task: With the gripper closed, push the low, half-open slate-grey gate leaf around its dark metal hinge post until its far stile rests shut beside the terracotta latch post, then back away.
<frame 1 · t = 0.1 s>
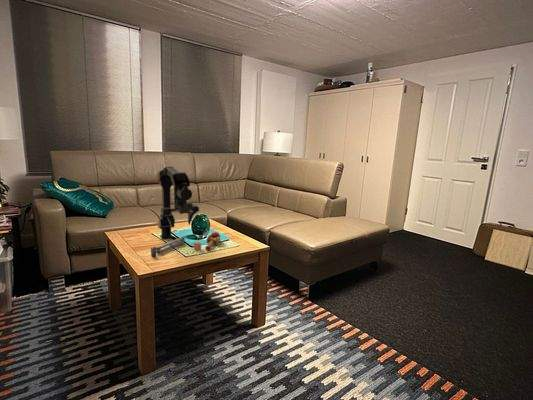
hand: (180, 225, 153), 15 cm above the table, tool pointing down, fingers open, 9 cm apart
latch post: (197, 249, 159), on the table
hinge post: (153, 255, 149), on the table
kendama: (212, 246, 166), on the table
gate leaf: (171, 244, 159), point 2 cm above the table, hinge at 30.0°
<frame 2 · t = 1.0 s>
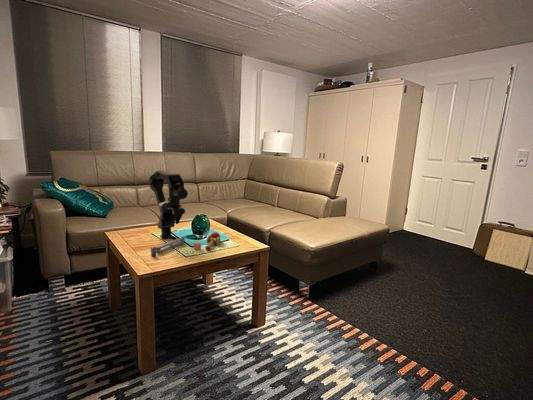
hand: (175, 222, 167), 12 cm above the table, tool pointing down, fingers open, 7 cm apart
nothing on the table moved.
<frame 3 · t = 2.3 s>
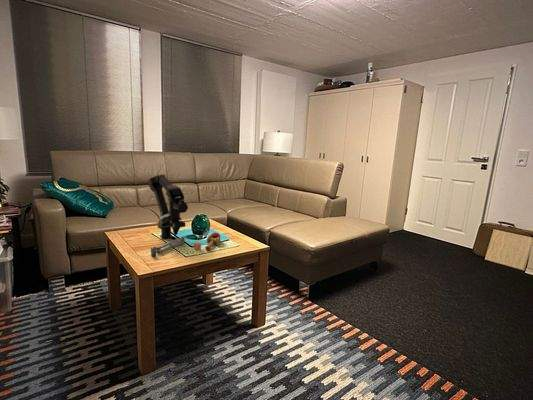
hand: (175, 235, 169), 4 cm above the table, tool pointing down, fingers closed
nothing on the table moved.
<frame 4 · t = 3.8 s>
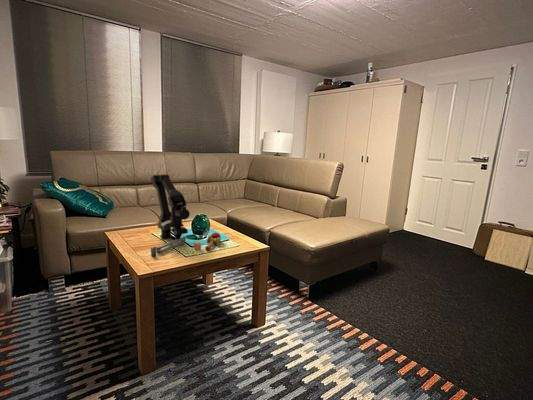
hand: (177, 241, 167), 1 cm above the table, tool pointing down, fingers closed
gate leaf: (171, 244, 159), point 2 cm above the table, hinge at 28.7°, touching gripper
everything else where it was.
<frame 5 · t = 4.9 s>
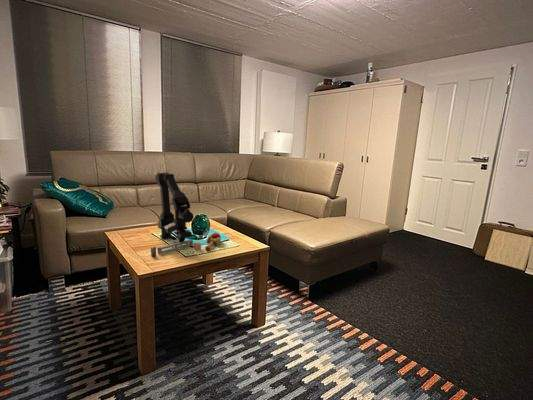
hand: (181, 244, 162), 1 cm above the table, tool pointing down, fingers closed
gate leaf: (175, 246, 157), point 2 cm above the table, hinge at 11.0°, touching gripper
everything else where it was.
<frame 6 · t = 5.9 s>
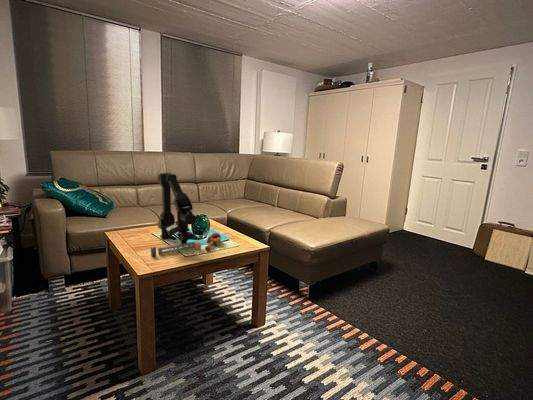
hand: (183, 246, 159), 1 cm above the table, tool pointing down, fingers closed
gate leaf: (177, 247, 155), point 2 cm above the table, hinge at -0.1°, touching gripper
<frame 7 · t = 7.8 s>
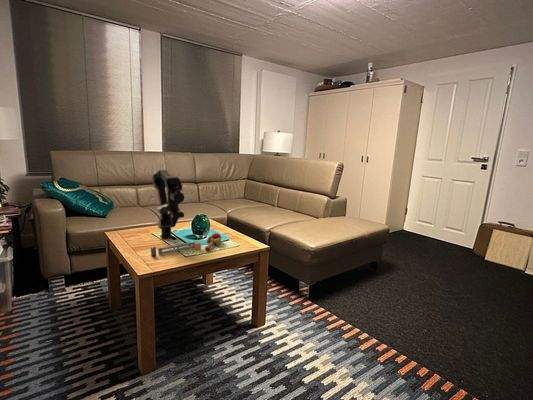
hand: (173, 226, 164), 11 cm above the table, tool pointing down, fingers closed
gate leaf: (177, 247, 155), point 2 cm above the table, hinge at -0.2°
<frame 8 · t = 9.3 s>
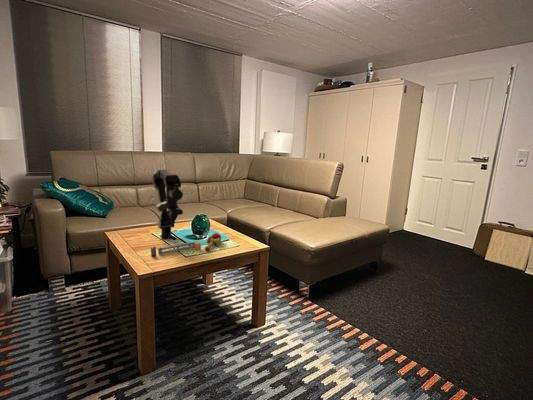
hand: (172, 223, 165), 12 cm above the table, tool pointing down, fingers closed
at the end: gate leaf at +0° (first picture: +30°); kendama moved 2.2 cm from its start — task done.
